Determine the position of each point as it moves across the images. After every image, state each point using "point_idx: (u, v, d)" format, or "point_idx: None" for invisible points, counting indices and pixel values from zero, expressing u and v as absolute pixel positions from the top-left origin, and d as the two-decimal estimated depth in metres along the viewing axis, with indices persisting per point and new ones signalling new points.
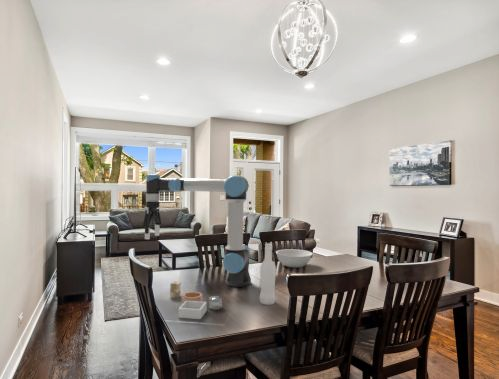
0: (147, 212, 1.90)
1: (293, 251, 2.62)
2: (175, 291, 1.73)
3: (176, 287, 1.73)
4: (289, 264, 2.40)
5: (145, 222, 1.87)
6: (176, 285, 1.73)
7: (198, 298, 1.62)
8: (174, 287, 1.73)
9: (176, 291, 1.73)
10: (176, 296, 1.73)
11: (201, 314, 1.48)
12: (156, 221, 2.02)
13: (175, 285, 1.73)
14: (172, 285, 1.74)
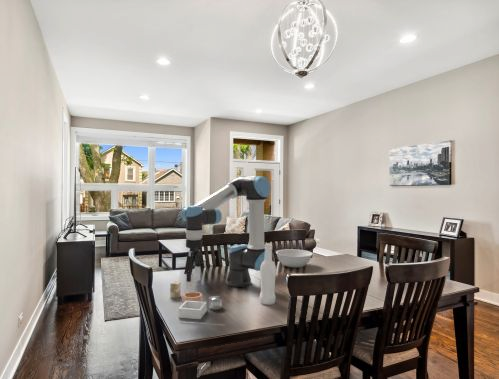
0: (189, 254, 1.51)
1: (293, 251, 2.61)
2: (175, 291, 1.73)
3: (176, 287, 1.73)
4: (289, 264, 2.40)
5: (187, 268, 1.48)
6: (176, 285, 1.73)
7: (198, 298, 1.62)
8: (174, 287, 1.73)
9: (176, 291, 1.73)
10: (176, 296, 1.73)
11: (201, 314, 1.48)
12: (197, 262, 1.63)
13: (175, 285, 1.73)
14: (172, 285, 1.74)
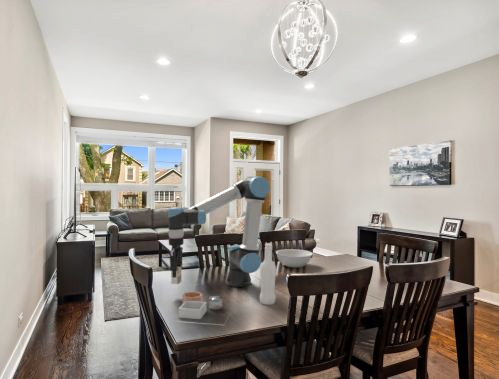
0: (171, 254, 1.69)
1: (293, 251, 2.62)
2: None
3: None
4: (289, 264, 2.40)
5: (172, 266, 1.70)
6: (177, 269, 1.73)
7: (198, 298, 1.62)
8: None
9: None
10: None
11: (201, 314, 1.48)
12: (177, 262, 1.78)
13: None
14: None
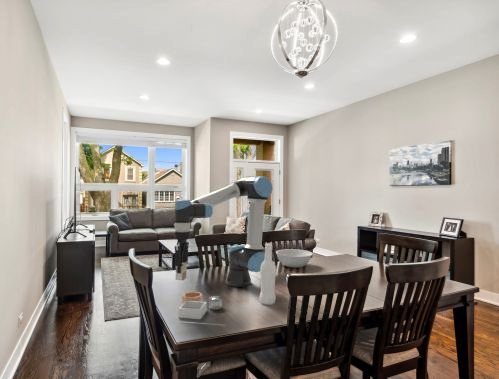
0: (177, 249, 1.60)
1: (293, 251, 2.62)
2: None
3: None
4: (289, 264, 2.40)
5: (177, 261, 1.60)
6: (182, 265, 1.64)
7: (198, 298, 1.62)
8: None
9: None
10: (182, 277, 1.64)
11: (201, 314, 1.48)
12: (183, 258, 1.68)
13: None
14: None
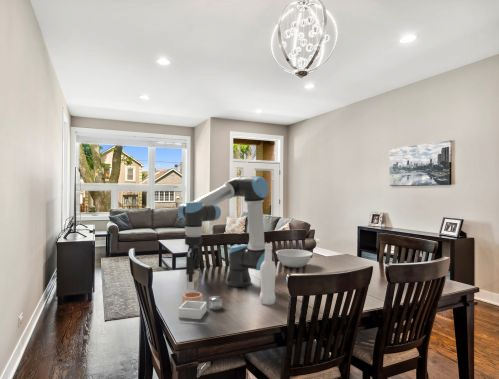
0: (188, 255, 1.46)
1: (293, 251, 2.62)
2: None
3: None
4: (289, 264, 2.40)
5: (188, 269, 1.47)
6: (194, 273, 1.50)
7: (198, 298, 1.62)
8: None
9: None
10: None
11: (201, 314, 1.48)
12: (194, 265, 1.55)
13: None
14: None
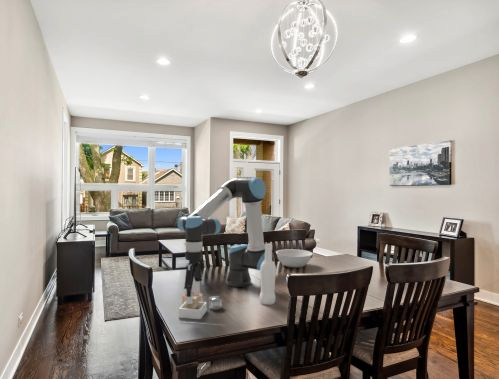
0: (188, 269, 1.46)
1: (293, 251, 2.61)
2: (192, 307, 1.50)
3: (194, 302, 1.50)
4: (289, 264, 2.40)
5: (187, 283, 1.44)
6: (194, 300, 1.50)
7: (198, 298, 1.62)
8: None
9: (194, 307, 1.50)
10: None
11: (201, 314, 1.48)
12: (196, 276, 1.57)
13: None
14: None
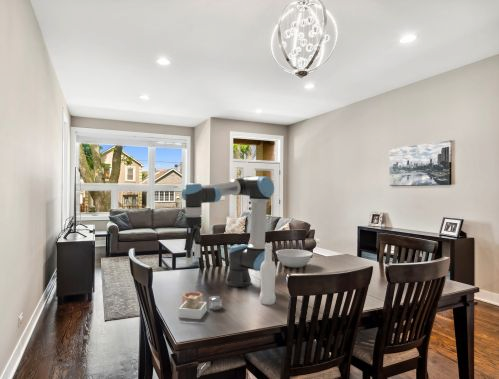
0: (189, 231, 1.52)
1: (293, 251, 2.61)
2: (192, 307, 1.50)
3: (194, 302, 1.50)
4: (289, 264, 2.40)
5: (187, 244, 1.50)
6: (194, 300, 1.50)
7: None
8: (191, 302, 1.51)
9: (194, 307, 1.50)
10: None
11: (201, 314, 1.48)
12: (196, 240, 1.65)
13: (192, 300, 1.50)
14: (189, 300, 1.51)
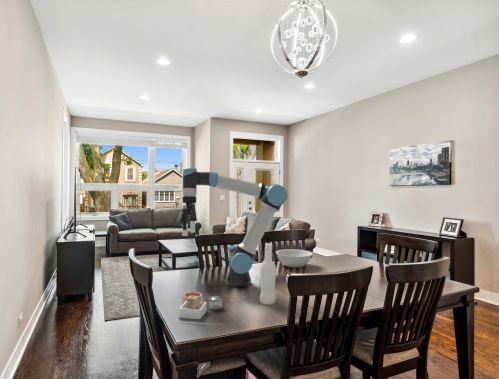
0: (185, 207, 1.80)
1: (293, 251, 2.61)
2: (193, 307, 1.50)
3: (194, 302, 1.50)
4: (289, 264, 2.40)
5: (183, 218, 1.77)
6: (194, 300, 1.50)
7: None
8: (191, 302, 1.51)
9: (194, 307, 1.50)
10: None
11: (201, 314, 1.48)
12: (192, 217, 1.92)
13: (193, 300, 1.50)
14: (189, 300, 1.51)
